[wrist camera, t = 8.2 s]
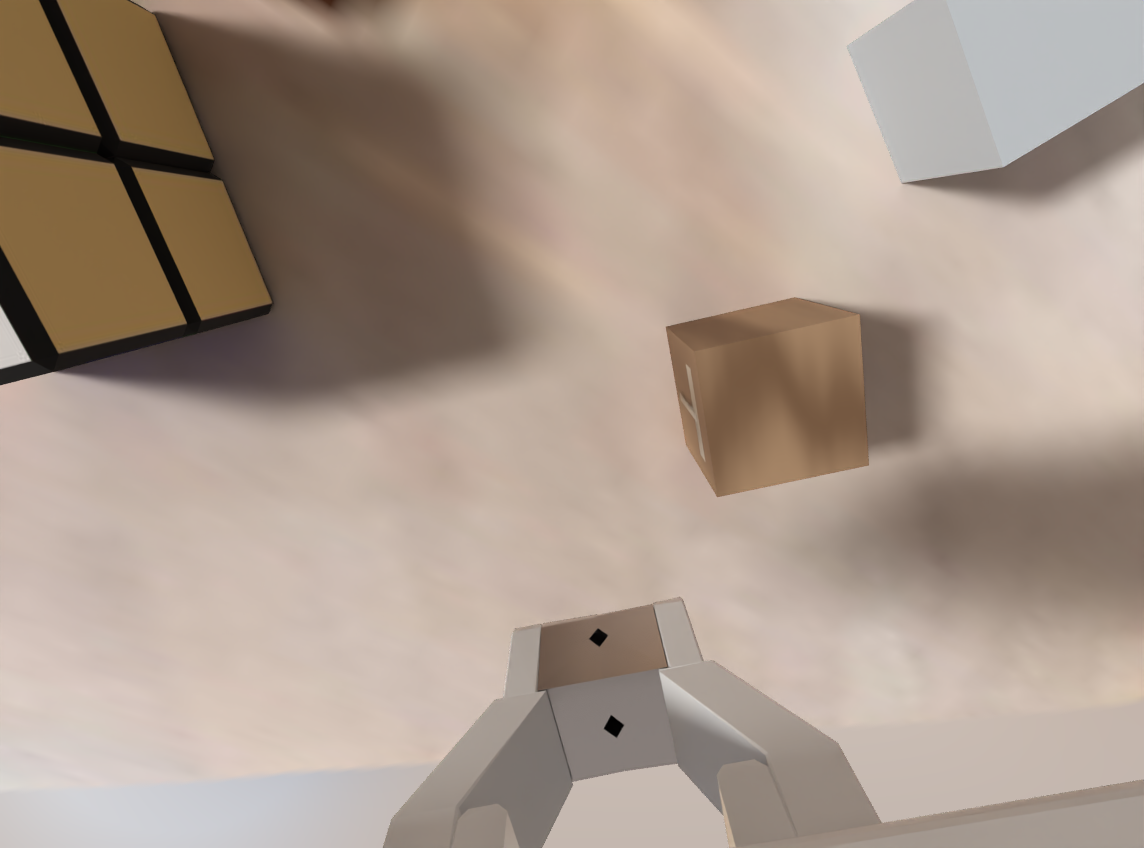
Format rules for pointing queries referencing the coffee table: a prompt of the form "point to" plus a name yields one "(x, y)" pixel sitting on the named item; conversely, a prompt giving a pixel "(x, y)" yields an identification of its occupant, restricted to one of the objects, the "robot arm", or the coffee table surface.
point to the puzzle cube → (106, 193)
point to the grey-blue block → (993, 76)
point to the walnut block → (771, 393)
